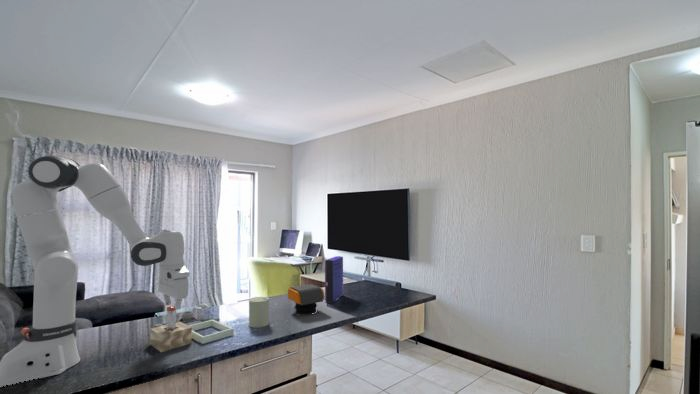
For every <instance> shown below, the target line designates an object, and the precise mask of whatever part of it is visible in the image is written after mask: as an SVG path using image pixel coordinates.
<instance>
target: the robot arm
mask: <svg viewBox="0 0 700 394" xmlns="http://www.w3.org/2000/svg"><path fill="white" fill-rule="evenodd" d="M27 171H28V172H27V173H28V176H29V178H30V179H29V180H25V181H22V182H18V183H17V184H16V185H15V186H14V187H13V188H12V189H11V196H12V198H11V199H12V206H13V211H14V214H15V217H16V220H17V223H18V226H19V230H20V232H21V236H22V238H23V240H24V241H23V242H24V244H25V246H26V249H27V252H28V255H29V258H30V261H31V264H32V267H33V271H34V272H33V273H34V274H33V275H34V277H33V303H32V304H33V305H32V327H24V328H22V329H21V331H20V333H21V335H23V340H22V342H20V343H19V344H17V345H16V346H15V347H13V348H12V349H11V350H9V351H8V352H7V353H5V354H4V355H3V356H2V358H1V359H0V388H2V387H3V386H4V387H7V386H6V385H8V386H12V384H13V385H16V383H17V384H20V383H19V382H21V383H25V382H24V381H26V382H29V380H30V381H34V380H33V379H35V380H38V378H39V379H43V378H47V377H51V376H55V375H60V374H62V373H64V372H66V370H68V369H70V368H72V367H74V366H75V365H77V364H78V363H79V362H80V361H81V357H80V355H79V351H78V346H77V340H76V339H77V333H78V323H77V322H78V321H77V320H76V308H77V307H76V304H77V302H76V301H77V289H78V279H79V277H78V275H79V264H78V261H77V260H76V258H75V257H74V254H73V251H72V247H71V243H70V240H69V236H68V231H67V229H66V226H65V222H64V220H63V215H62V212H61V210H60V207H59V204H58V199H57V195H58V193H60V192H62V191H64V190H66V189H68V188H71V187H75V188H77V189H78V190H80V191H81V193H82V194H83V195H84V196H85V198H86V200H87V201H88V203H89V204H90V205H91V206H92V208H93V209H94V210H95V211H96V212H97V213H98V214H100V215H101V216H102V217H104V218H105V219H107V220H109V221H110V222H111V223H113V224H114V225H115V226H116V227H117V228H118V230H119V231H120V232H121V234H122V235H123V237H124V238H125V240H126V241H127V243H128V246H129V252H130V258H131V260H132V262H133V263H134V264H135V265H138V266H141V267H148V266H152V265H155V264H158V265H159V267H158V271H159V276H158V285H157V287H158V288H157V289H158V292H159V293H161V294H163V295H162V296H163V300H164V305H165V306H171V304H172V300H171V298H173V299H174V301H175V303H174V304H173V306H174V308H175V309H176V311H178V310H181V308H182V307H181V304H182V301H183V299H186V298H187V297H188V295H189V277H190V271H189V270H188V268H187V267H186V264H185V262H186V261H185V259H184V258H185V257H184V254H185V240H184V234H182V233H181V232H180V231H178V230H170V229H162V230H161V231H159V232H158V233H157V234H155V235H153V236H150V237H149V236H148V235H147V234H146V233H145V232H144V231H143V229H142V228H141V226H140V225H139V222H137V221H136V219H135V216H134V215H133V212H132V209H131V204H130V200H129V198H128V196H127V194H126V192H125V190H124V188H123V186H122V185H121V184H120V183H119V181H118V179H117V178H116V177H115V176H114V174H113V173H112V172H111V171H110V170H109V169H108V168H107V167H106V166H105V165H103V164H101V163H99V162H98V163H97V162H92V163H88V164H84V165H80V164H79V163H78V162H77V161H75V160H73V159H71V158H68V157H66V156H60V155H44V156H43V155H42V156H40V157H37V158H36V159H34V160H33V161H32V162H31V163H30V164H29V167H28V170H27Z"/></svg>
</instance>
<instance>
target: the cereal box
mask: <svg viewBox="0 0 700 394" xmlns="http://www.w3.org/2000/svg"><path fill="white" fill-rule="evenodd" d="M341 295H343V296H344V257H343V256H341V255H340V256H339V255H337V256H336V255H335V256H333V257H331V258H327V259H325V260H324V296H325V299H324V302H325V301H326V302H325V303H327V302H333V301H335V300H336V299H337V298H339V297H340V296H341ZM339 299H340V298H339ZM336 301H337V300H336ZM336 301H335V302H336Z"/></svg>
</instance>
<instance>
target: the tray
mask: <svg viewBox="0 0 700 394" xmlns="http://www.w3.org/2000/svg"><path fill="white" fill-rule="evenodd" d="M188 326H190V327H191V328H192V339H193V340H195V341H196V342H198V343H200V344H202V345H203V344H207V343H210V342H213V341H217V340H220V339H224V338H226V337H227V338H228V337H230V336H231V337H234V327H231V326H229V325H227V324H224V323H222V322H219V321H215V320H209V321H205V322H201V321H200V322H198V323H194V324H190V325H188ZM210 327H211V328H214V329H216V330H219V331H217V332H213V333H211V334H207V335H202V334H200V333H198V332H197V331H199V330H203V329H206V328H210Z"/></svg>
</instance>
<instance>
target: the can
mask: <svg viewBox="0 0 700 394" xmlns="http://www.w3.org/2000/svg"><path fill="white" fill-rule="evenodd" d="M269 325H270V297H268V296H255V297H251V298H250V299H248V327H250V328H255V329H258V328H259V329H261V328H265V327H266V326H269Z"/></svg>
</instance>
